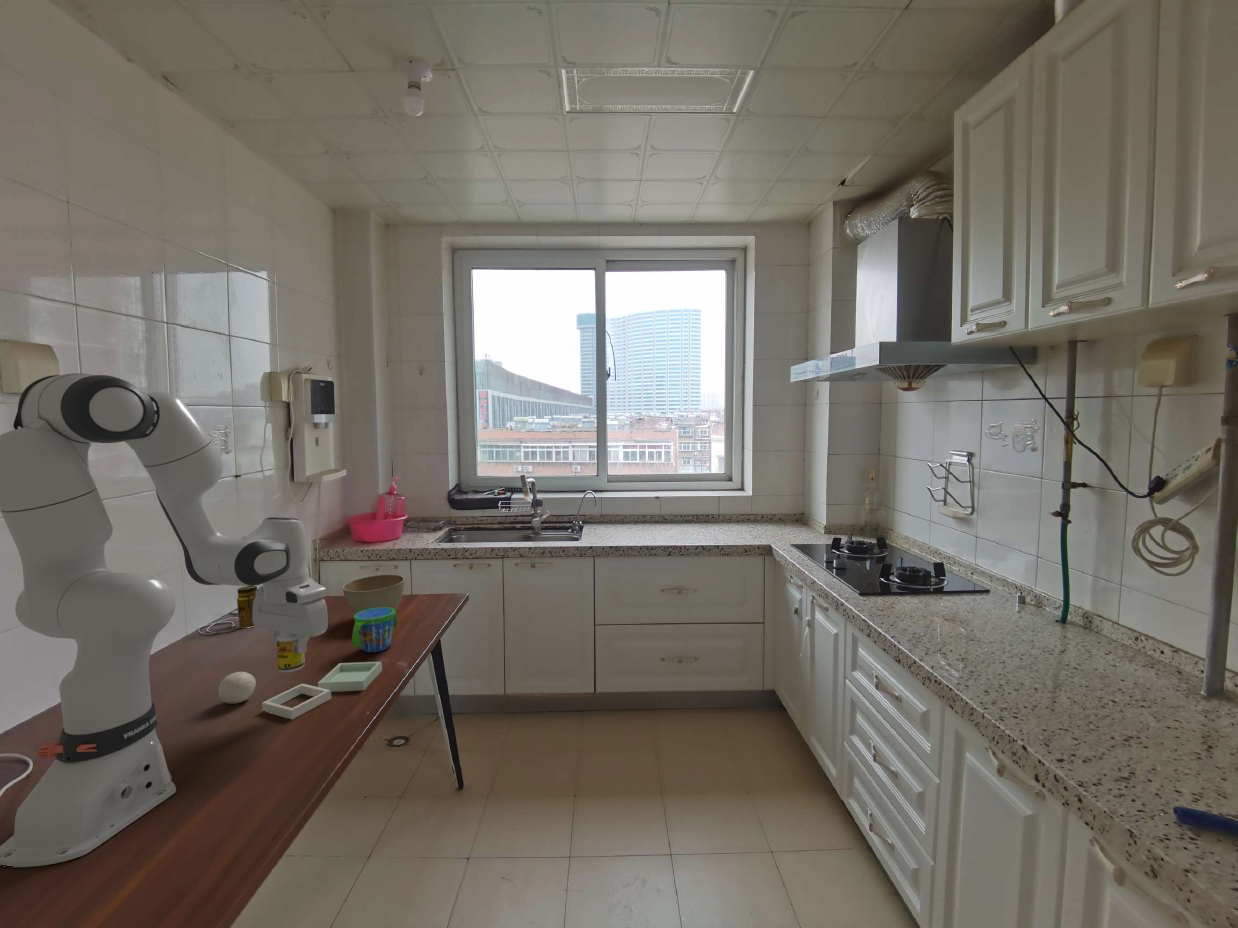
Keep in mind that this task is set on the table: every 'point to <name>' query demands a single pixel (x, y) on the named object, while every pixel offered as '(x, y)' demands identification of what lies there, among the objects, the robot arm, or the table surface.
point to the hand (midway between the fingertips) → (290, 650)
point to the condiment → (246, 606)
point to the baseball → (237, 687)
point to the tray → (351, 676)
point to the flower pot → (374, 592)
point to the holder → (318, 698)
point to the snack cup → (374, 628)
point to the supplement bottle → (288, 653)
